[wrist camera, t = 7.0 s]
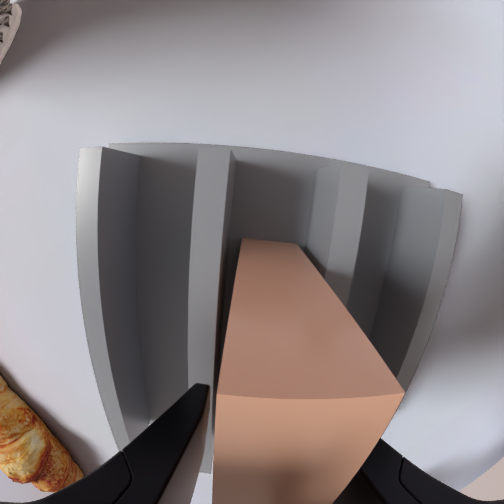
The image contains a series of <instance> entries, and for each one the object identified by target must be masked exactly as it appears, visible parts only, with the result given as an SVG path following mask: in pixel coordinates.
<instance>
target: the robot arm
mask: <svg viewBox="0 0 504 504" xmlns="http://www.w3.org/2000/svg"><path fill="white" fill-rule="evenodd" d="M209 411H210V385H209V384H202V383H195V384H194V385H193V386H192V387H191V388H190V389H189V390H188V391H187V392H186V393H185V394H183V395H182V396H181V397H180V398H179V399H178V400H177V401H176V402H175V403H174V404H173V405H172V406H171V407H169V408H168V409H167V410H166V411H165V412H164V413H163V414H162V415H161V416H160V417H158V418H157V419H156V420H155V421H154V422H153V423H152V424H151V425H149V426H148V427H147V428H146V429H145V430H144V431H143V432H142V433H140V434H139V435H138V436H137V437H136V438H135V439H133V440H132V441H131V442H130V443H129V444H128V445H126V446H125V447H124V448H123V449H122V451H123V452H122V451H119V452H118V453H117V454H115V455H114V456H113V457H112V458H111V459H109V460H108V461H107V462H105V463H104V464H103V465H101V466H100V467H99V468H97V469H96V470H94V471H93V472H91V473H89V474H88V475H86V476H85V477H83V478H81V479H79V480H78V481H76V482H74V483H72V484H70V485H69V486H67V487H65V488H63V489H61V490H59V491H57V492H55V493H53V494H51V495H49V496H47V497H45V498H43V499H40V500H36V501H32V502H25V503H13V502H0V504H190V502H191V499H192V495H193V492H194V488H195V485H196V481H197V477H198V474H199V470H200V467H201V463H202V459H203V455H204V450H205V443H206V435H207V427H208V419H209ZM332 504H504V500H496V501H481V500H476V499H473V498H471V497H468V496H466V495H464V494H462V493H460V492H458V491H456V490H455V489H453V488H451V487H449V486H447V485H445V484H444V483H442V482H440V481H438V480H437V479H435V478H433V477H432V476H430V475H428V474H427V473H425V472H424V471H422V470H421V469H420V468H418V467H417V466H415V465H414V464H413V463H411V462H410V461H409V460H408V459H406V458H405V457H403V458H402V455H401V454H400V453H398V452H397V451H396V450H395V449H393V448H392V447H391V446H390V445H389V444H387V443H386V442H385V441H384V440H382V439H381V438H380V439H379V440H378V442H377V444H376V445H375V447H374V448H373V450H372V451H371V453H370V454H369V456H368V457H367V459H366V460H365V462H364V463H363V465H362V466H361V467H360V469H359V470H358V472H357V473H356V474H355V476H354V477H353V478H352V480H351V481H350V482H349V484H348V485H347V486H346V487H345V489H344V490H343V491H342V492H341V494H340V495H339V496H338V497H337V498H336V500H335V501H334V502H333V503H332Z"/></svg>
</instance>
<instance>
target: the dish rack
mask: <svg viewBox="0 0 504 504" xmlns="http://www.w3.org/2000/svg"><path fill="white" fill-rule="evenodd" d="M429 186H430V182H429V181H425V180H422V179H418V178H415V177H411V176H407V175H403V174H400V173H396V172H391V171H387V170H383V169H379V168H374V167H370V166H365V165H361V164H356V163H351V162H346V161H340V160H335V159H329V158H324V157H318V156H312V155H305V154H298V153H291V152H284V151H276V150H268V149H259V148H249V147H238V146H226V145H211V144H191V143H112V144H109V147H108V148H106V147H88V148H80V155H79V166H78V178H77V198H76V245H77V264H78V277H79V288H80V297H81V305H82V312H83V319H84V325H85V331H86V337H87V342H88V348H89V352H90V357H91V362H92V366H93V370H94V374H95V378H96V382H97V386H98V390H99V393H100V397H101V400H102V404H103V407H104V410H105V413H106V416H107V419H108V422H109V425H110V428H111V431H112V434H113V437H114V439H115V442H116V445H117V447H118V450H119V451H122V449H123V448H124V447H125V446H126V445H128V444H129V443H130V442H131V441H132V440H133V439H135V438H136V437H137V436H138V435H139V434H140V433H142V432H143V431H144V430H145V429H146V428H147V427H148V425H149V424H152V423H153V422H154V421H155V420H156V419H157V418H158V417H160V416H161V415H162V414H163V413H164V412H165V411H166V410H167V409H168V408H169V407H171V406H172V405H173V404H174V403H175V402H176V401H177V400H178V399H179V398H180V397H181V396H182V395H183V394H185V393H186V392H187V391H188V390H189V389H190V388H191V387H192V386H193V385H194V384H195V383H202V384H209V385H210V411H209V419H208V427H207V435H206V443H205V450H204V455H203V459H202V463H201V467H200V470H199V472H202V473H210V474H211V469H212V460H213V452H214V437H215V416H216V397H217V389H218V382H219V376H220V369H221V363H222V357H223V350H224V344H225V338H226V332H227V325H228V319H229V313H230V307H231V301H232V295H233V289H234V283H235V277H236V271H237V265H238V259H239V253H240V247H241V241H242V238H248V239H258V240H267V241H276V242H285V243H294V244H297V245H298V246H299V247H300V248H301V250H302V251H303V252H304V254H305V255H306V256H307V257H308V259H309V260H310V261H311V263H312V264H313V265H314V266H315V268H316V269H317V270H318V272H319V273H320V274H321V276H322V277H323V278H324V280H325V281H326V282H327V284H328V285H329V286H330V288H331V289H332V290H333V291H334V293H335V294H336V296H337V297H338V298H339V300H340V301H341V302H342V304H343V305H344V306H345V308H346V309H347V310H348V312H349V313H350V314H351V316H352V317H353V319H354V320H355V321H356V323H357V324H358V325H359V327H360V328H361V330H362V331H363V332H364V334H365V335H366V337H367V338H368V339H369V341H370V342H371V344H372V345H373V346H374V348H375V349H376V351H377V352H378V353H379V355H380V356H381V358H382V359H383V361H384V362H385V364H386V365H387V366H388V368H389V369H390V371H391V372H392V374H393V375H394V377H395V378H396V380H397V381H398V383H399V384H400V386H401V387H402V389H403V390H404V391H405V393H406V391H407V389H408V387H409V385H410V383H411V380H412V378H413V376H414V374H415V372H416V369H417V367H418V365H419V362H420V360H421V358H422V355H423V353H424V350H425V348H426V345H427V342H428V340H429V337H430V334H431V332H432V329H433V326H434V323H435V320H436V317H437V314H438V311H439V308H440V305H441V301H442V298H443V294H444V291H445V287H446V283H447V280H448V276H449V272H450V267H451V263H452V259H453V254H454V249H455V244H456V239H457V233H458V227H459V221H460V214H461V206H462V197H463V195H462V194H459V193H456V192H453V191H450V190H447V189H436V188H429ZM404 395H405V394H404ZM403 397H404V396H403ZM402 399H403V398H402ZM401 401H402V400H401ZM400 403H401V402H400ZM399 405H400V404H399ZM398 407H399V406H398ZM397 409H398V408H397ZM397 409H396V410H397ZM395 412H396V411H395ZM394 414H395V413H394ZM393 416H394V415H393ZM392 418H393V417H392ZM391 420H392V419H391ZM391 420H390V421H391ZM389 423H390V422H389ZM388 425H389V424H388ZM387 427H388V426H387ZM387 427H386V428H387ZM385 430H386V429H385ZM384 432H385V431H384ZM384 432H383V433H384ZM382 435H383V434H382ZM381 437H382V436H381ZM381 437H380V438H381ZM122 452H123V451H122Z"/></svg>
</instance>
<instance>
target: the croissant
mask: <svg viewBox="0 0 504 504" xmlns="http://www.w3.org/2000/svg"><path fill="white" fill-rule="evenodd" d="M0 469H1V470H2V471H3V472H4V473H5V474H6V475H7V476H8V477H9V478H10V479H12V481H13V482H19V483H21V484H23V483H29V482H32V484H33V485H34V486H35V487H36V488H38V489H39V490H40V491H43V492H54V493H55V492H57V491H59V490H61V489H63V488H65V487H67V486H69V485H70V484H72V483H74V482H76V481H78V480H79V479H81V478H83V477H84V476H83V473H82V471H81V470H80V468H79V466H78V465H77V464H76V463H75V462H74V461H73V459H72V458H71V456H70V454H69V453H68V451H67V450H66V449H65V447H64V446H63V445H62V444H61V443H60V441H59V440H58V439H57V438H56V437H55V436H54V435H53V434H52V433H51V432H50V430H49V429H48V428H47V426H46V425H45V424H44V423H43V421H42V420H41V419H40V417H39V416H38V415H37V414H36V413H35V412H34V411H33V410H32V409H31V408H30V407H29V406H28V405H27V404H26V403H25V402H24V401H23V400H22V399H21V398H20V397H19V396H18V395H17V394H16V393H15V392H13V391H12V390H11V389H10V388H9V387H8V386H7V383H6V382H5V380H4V379H3V378H2V377H1V376H0Z"/></svg>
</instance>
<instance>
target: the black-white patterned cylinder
mask: <svg viewBox="0 0 504 504" xmlns="http://www.w3.org/2000/svg"><path fill="white" fill-rule="evenodd" d="M9 3H10V0H0V64H1V62H2V60H3V58H4V57H5V55H6V53H7V51H8V49H9V48H10V46H11V44H12V42H13V39H14V37H15V35H16V32H17V30H18V28H19V25H20V21H21V15H22V9H21V8H20V6H19V5H18V4H17V3H15V4H9Z"/></svg>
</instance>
